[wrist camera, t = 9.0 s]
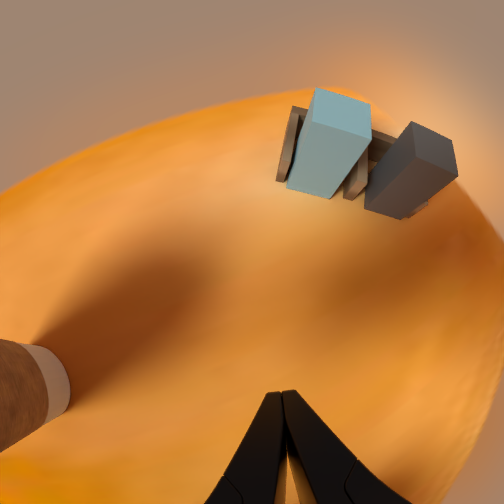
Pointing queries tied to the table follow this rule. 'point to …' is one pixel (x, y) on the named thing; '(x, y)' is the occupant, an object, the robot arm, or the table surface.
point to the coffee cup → (29, 390)
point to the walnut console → (358, 172)
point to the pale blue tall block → (329, 143)
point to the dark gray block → (410, 172)
